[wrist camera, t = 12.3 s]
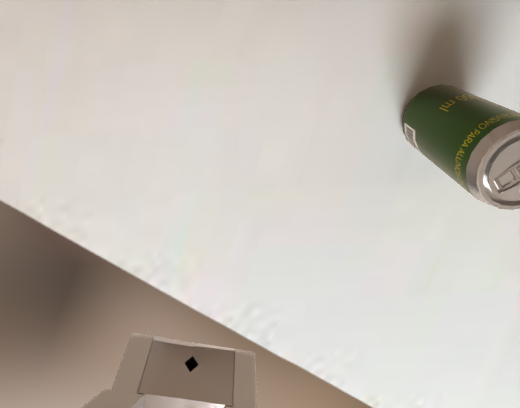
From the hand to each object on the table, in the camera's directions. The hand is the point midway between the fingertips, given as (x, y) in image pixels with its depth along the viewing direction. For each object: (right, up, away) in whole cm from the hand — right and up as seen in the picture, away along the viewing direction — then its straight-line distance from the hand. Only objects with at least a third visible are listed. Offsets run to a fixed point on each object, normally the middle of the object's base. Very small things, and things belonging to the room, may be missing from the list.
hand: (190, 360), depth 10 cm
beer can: (+16, +11, +24) cm, 31 cm away
